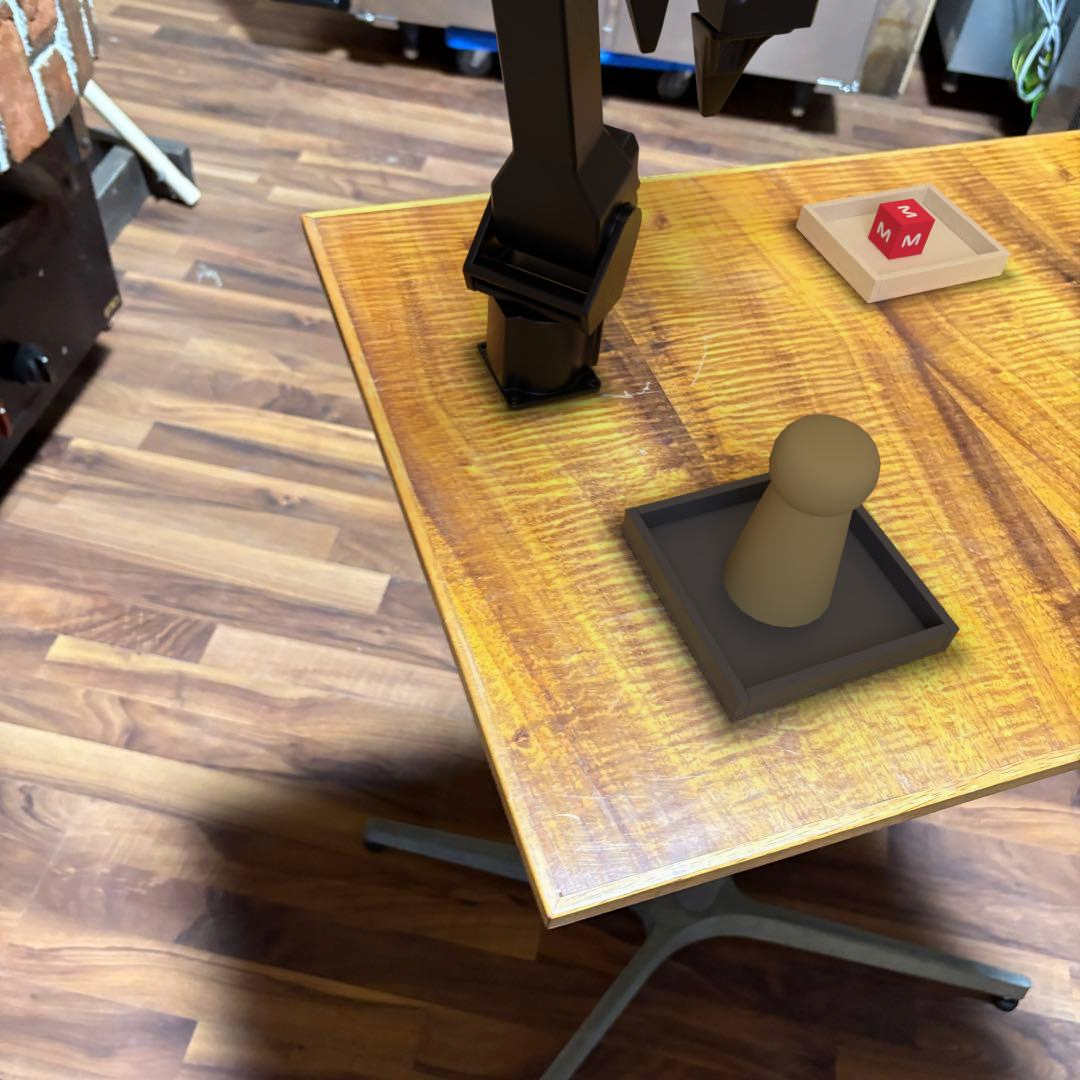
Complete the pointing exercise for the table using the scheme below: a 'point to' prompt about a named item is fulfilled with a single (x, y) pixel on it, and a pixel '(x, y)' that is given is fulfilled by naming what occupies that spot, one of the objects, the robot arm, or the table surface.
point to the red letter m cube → (901, 228)
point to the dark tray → (773, 651)
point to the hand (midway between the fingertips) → (676, 82)
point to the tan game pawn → (802, 520)
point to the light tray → (945, 259)
